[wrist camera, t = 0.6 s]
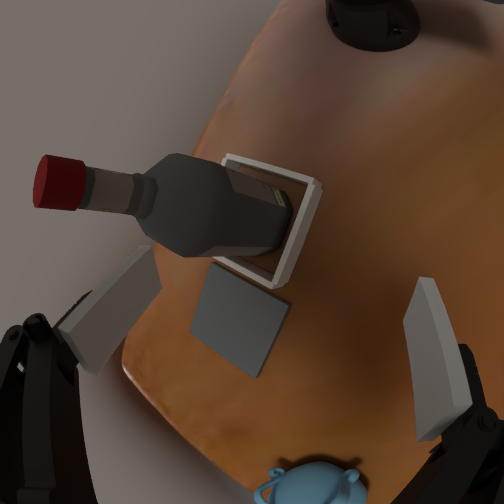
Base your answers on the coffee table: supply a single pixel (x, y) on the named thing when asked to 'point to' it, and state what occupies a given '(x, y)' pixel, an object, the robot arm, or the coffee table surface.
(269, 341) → the slate coaster
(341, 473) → the decorative pot
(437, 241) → the coffee table surface
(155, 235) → the liquor
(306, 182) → the bottle holder
